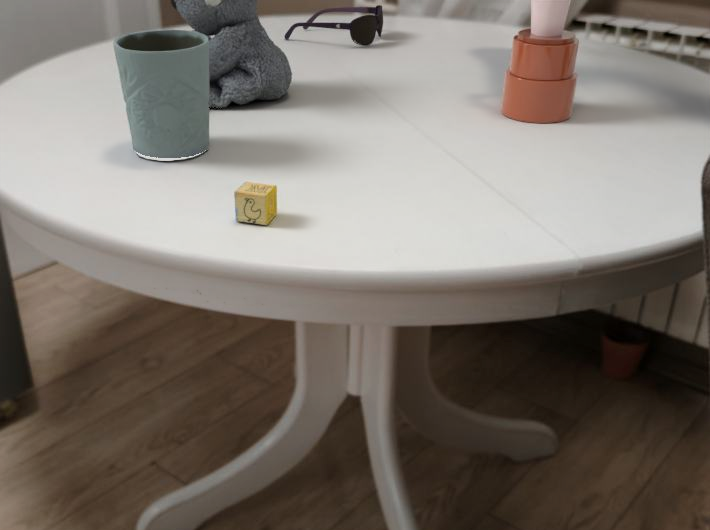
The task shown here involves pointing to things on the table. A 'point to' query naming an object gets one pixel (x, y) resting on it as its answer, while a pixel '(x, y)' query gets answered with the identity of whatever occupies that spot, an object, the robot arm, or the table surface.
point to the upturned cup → (540, 78)
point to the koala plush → (237, 51)
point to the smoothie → (548, 17)
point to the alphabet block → (255, 203)
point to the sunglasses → (351, 24)
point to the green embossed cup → (165, 90)
